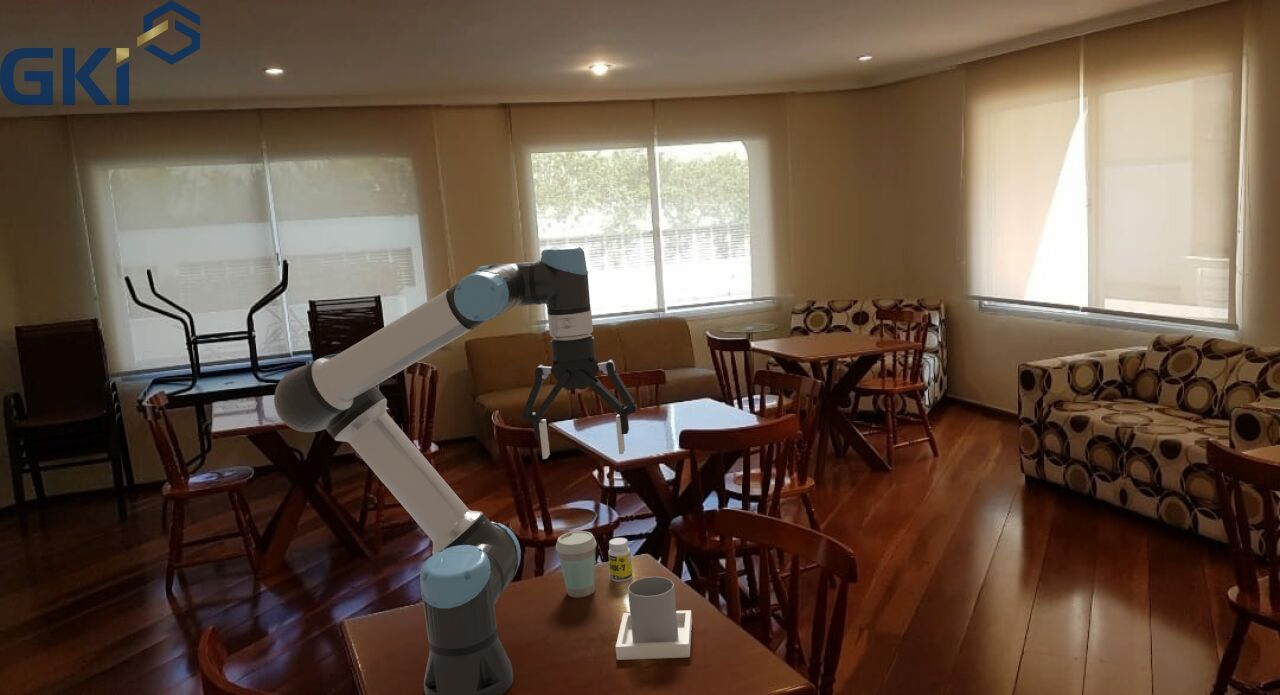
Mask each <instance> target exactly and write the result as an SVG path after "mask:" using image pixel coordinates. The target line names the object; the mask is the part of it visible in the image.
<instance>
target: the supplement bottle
mask: <svg viewBox="0 0 1280 695" xmlns="http://www.w3.org/2000/svg"><path fill="white" fill-rule="evenodd" d="M608 546H609V550H608V551H607V552H608V553H607V554H608V556H607V557H608V565H609V566H608V567H609V575H610V579H611V580H612V581H613V582H617V583H623V582H627V581H629V580H631V579H632V577H633V568H632V566H633V565H632V556H631V549H630V548H629V542H628V539H627V538H625V537H616V538H612V539H610V540H609V542H608Z"/></svg>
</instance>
